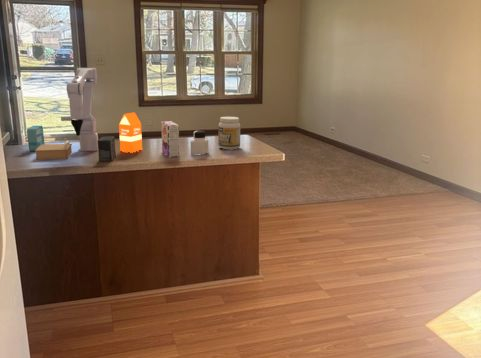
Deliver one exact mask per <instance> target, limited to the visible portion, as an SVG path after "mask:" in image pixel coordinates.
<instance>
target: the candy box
mask: <svg viewBox="0 0 481 358" xmlns="http://www.w3.org/2000/svg"><path fill="white" fill-rule="evenodd" d="M160 124H161V150H162V153H163V154H164V155H165V154H166V155H167V156H166V155H165V156H166V157H167V158H179V157H180V125H179V124H178V123H176V122H174V121H172V120H169V121H168V120H166V121H164V120H163V121H161V123H160ZM178 156H179V157H178Z"/></svg>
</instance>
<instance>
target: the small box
mask: <svg viewBox="0 0 481 358" xmlns="http://www.w3.org/2000/svg"><path fill="white" fill-rule="evenodd" d="M97 151H98V163H99V162H100V163H101V162H102V163H103V162H109V163H110V162H111V161H112V162H113V161H114V160H115V158H116V157H117V154H116V141H115V136H110V135H109V136H101V137H100V138H98V150H97Z"/></svg>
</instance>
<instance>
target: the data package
mask: <svg viewBox="0 0 481 358" xmlns="http://www.w3.org/2000/svg"><path fill="white" fill-rule="evenodd" d="M44 135H45V134H44V127H43V125H32V126H30V127H28V128H27V129H26V136H27V143H28V145H27V146H28V150H29V152H35V150H36V149H37V148H38V147H39V146H40V145H41V144H45V137H44Z"/></svg>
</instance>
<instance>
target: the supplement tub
mask: <svg viewBox="0 0 481 358" xmlns="http://www.w3.org/2000/svg"><path fill="white" fill-rule="evenodd" d="M219 121H220V122H219V123H218V135H217V136H218V142H217V144H218V145H217V146H218V148H219V147H220V148H223V149H222V150H224V149H235V150H238V149H240V148H239V147H241V123H240V118H239V117H238V116H221V117H220V118H219ZM220 148H219V149H220ZM237 148H238V149H237Z"/></svg>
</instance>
